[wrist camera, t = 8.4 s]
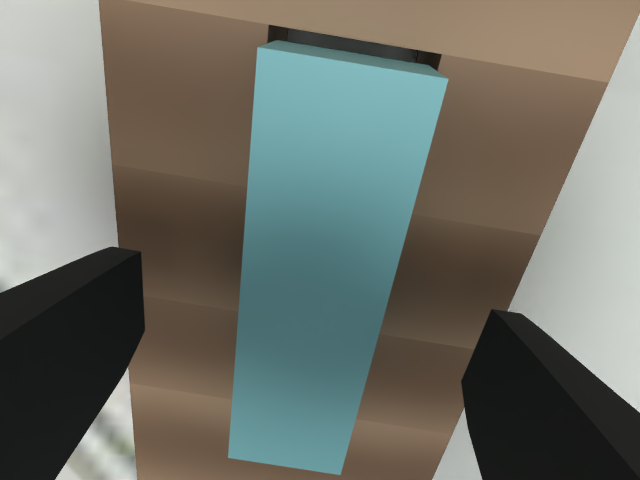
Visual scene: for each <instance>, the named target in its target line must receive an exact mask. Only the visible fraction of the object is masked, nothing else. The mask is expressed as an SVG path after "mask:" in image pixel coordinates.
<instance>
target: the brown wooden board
mask: <svg viewBox="0 0 640 480" xmlns="http://www.w3.org/2000/svg"><path fill="white" fill-rule="evenodd" d="M99 10H100V22H101V34H102V47H103V59H104V71H105V84H106V96H107V109H108V121H109V133H110V146H111V158H112V170H113V183H114V195H115V208H116V220H117V232H118V245H119V248H123V249H129V250H135V251H141V258H142V278H143V298H144V317H145V332H144V334H143V336H142V338H141V340H140V343H139V345H138V347H137V349H136V351H135V353H134V355H133V357H132V359H131V361H130V363H129V365H128V369H129V381H130V393H131V406H132V418H133V430H134V443H135V455H136V468H137V480H432V478H433V476H434V474H435V472H436V469H437V467H438V465H439V463H440V460H441V458H442V456H443V454H444V451H445V449H446V447H447V445H448V442H449V440H450V438H451V436H452V433H453V431H454V429H455V427H456V424H457V422H458V420H459V418H460V415H461V413H462V411H463V409H464V400H463V392H462V385H461V380H462V378H463V375H464V373H465V371H466V368H467V366H468V364H469V361H470V359H471V356H472V354H473V352H474V349H475V347H476V345H477V342H478V340H479V337H480V335H481V333H482V330H483V328H484V325H485V323H486V321H487V318H488V316H489V314H490V311H491V309H496V310H502V311H507V310H508V308H509V305H510V303H511V301H512V299H513V296H514V294H515V292H516V290H517V287H518V285H519V283H520V281H521V278H522V276H523V274H524V272H525V269H526V267H527V265H528V263H529V260H530V258H531V256H532V254H533V251H534V249H535V247H536V245H537V242H538V240H539V238H540V236H541V234H542V231H543V229H544V227H545V225H546V222H547V220H548V218H549V216H550V213H551V211H552V209H553V207H554V204H555V202H556V200H557V198H558V195H559V193H560V191H561V189H562V186H563V184H564V182H565V180H566V177H567V175H568V173H569V171H570V168H571V166H572V164H573V162H574V159H575V157H576V155H577V153H578V150H579V148H580V146H581V144H582V141H583V139H584V137H585V135H586V132H587V130H588V128H589V126H590V123H591V121H592V119H593V117H594V114H595V112H596V110H597V108H598V105H599V103H600V101H601V99H602V96H603V94H604V92H605V90H606V87H607V85H608V83H609V81H610V78H611V76H612V74H613V72H614V70H615V67H616V65H617V63H618V61H619V58H620V56H621V54H622V52H623V49H624V47H625V45H626V43H627V40H628V38H629V36H630V34H631V31H632V29H633V27H634V25H635V22H636V20H637V18H638V16H639V13H640V0H99ZM288 28H292V29H298V30H304V31H310V32H315V33H321V34H327V35H333V36H339V37H345V38H351V39H356V40H362V41H368V42H374V43H380V44H386V45H392V46H397V47H403V48H409V49H415V50H419V52H418V56H417V60H416V63H419V64H425V65H429V66H430V67H432V68H433V69H435V70H436V71H438V72H439V73H441V74H442V75H444V76H445V77H447V78H448V79H449V80H448V83H447V87H446V91H445V94H444V98H443V101H442V105H441V109H440V112H439V116H438V120H437V123H436V127H435V131H434V134H433V138H432V142H431V145H430V149H429V153H428V156H427V160H426V164H425V167H424V171H423V175H422V178H421V182H420V186H419V189H418V193H417V197H416V200H415V204H414V208H413V211H412V215H411V219H410V222H409V226H408V230H407V233H406V237H405V241H404V244H403V248H402V252H401V255H400V259H399V263H398V266H397V270H396V274H395V277H394V281H393V285H392V288H391V292H390V296H389V299H388V303H387V307H386V310H385V314H384V318H383V321H382V325H381V329H380V332H379V336H378V340H377V343H376V347H375V351H374V354H373V358H372V362H371V365H370V369H369V373H368V376H367V380H366V384H365V387H364V391H363V394H362V398H361V402H360V405H359V409H358V413H357V416H356V420H355V424H354V427H353V431H352V435H351V438H350V442H349V446H348V449H347V453H346V457H345V460H344V464H343V468H342V471H341V475H336V474H330V473H324V472H317V471H311V470H304V469H298V468H291V467H285V466H278V465H272V464H265V463H259V462H252V461H246V460H239V459H233V458H228V451H229V437H230V423H231V409H232V396H233V382H234V368H235V354H236V340H237V326H238V312H239V298H240V284H241V270H242V256H243V242H244V228H245V214H246V200H247V187H248V173H249V159H250V145H251V131H252V117H253V103H254V89H255V75H256V61H257V47H259V46H262V45H265V44H268V43H270V42H273V41H276V40H280V41H286V42H287V32H288Z"/></svg>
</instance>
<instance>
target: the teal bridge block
mask: <svg viewBox="0 0 640 480" xmlns="http://www.w3.org/2000/svg"><path fill="white" fill-rule="evenodd" d="M448 80H449V79H448V78H447V77H445V76H444V75H442V74H441V73H439V72H438V71H436V70H435V69H433V68H432V67H430V66H429V65H425V64H419V63H413V62H407V61H401V60H395V59H389V58H383V57H377V56H371V55H365V54H359V53H352V52H346V51H340V50H334V49H328V48H322V47H316V46H310V45H304V44H298V43H292V42H286V41H280V40H276V41H273V42H270V43H268V44H265V45H262V46H259V47H257V61H256V75H255V89H254V103H253V117H252V131H251V145H250V159H249V173H248V187H247V200H246V214H245V228H244V242H243V256H242V270H241V284H240V298H239V312H238V326H237V340H236V354H235V368H234V382H233V396H232V409H231V423H230V437H229V451H228V458H233V459H239V460H246V461H252V462H259V463H265V464H272V465H278V466H285V467H291V468H298V469H304V470H311V471H317V472H324V473H330V474H336V475H341V471H342V468H343V464H344V460H345V457H346V453H347V449H348V446H349V442H350V438H351V435H352V431H353V427H354V424H355V420H356V416H357V413H358V409H359V405H360V402H361V398H362V394H363V391H364V387H365V384H366V380H367V376H368V373H369V369H370V365H371V362H372V358H373V354H374V351H375V347H376V343H377V340H378V336H379V332H380V329H381V325H382V321H383V318H384V314H385V310H386V307H387V303H388V299H389V296H390V292H391V288H392V285H393V281H394V277H395V274H396V270H397V266H398V263H399V259H400V255H401V252H402V248H403V244H404V241H405V237H406V233H407V230H408V226H409V222H410V219H411V215H412V211H413V208H414V204H415V200H416V197H417V193H418V189H419V186H420V182H421V178H422V175H423V171H424V167H425V164H426V160H427V156H428V153H429V149H430V145H431V142H432V138H433V134H434V131H435V127H436V123H437V120H438V116H439V112H440V109H441V105H442V101H443V98H444V94H445V91H446V87H447V83H448Z"/></svg>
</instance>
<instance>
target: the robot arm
mask: <svg viewBox="0 0 640 480" xmlns="http://www.w3.org/2000/svg"><path fill="white" fill-rule="evenodd" d="M144 332H145V317H144V298H143V278H142V258H141V251H135V250H129V249H123V248H117V247H109V248H106V249H103V250H100V251H97V252H95V253H92V254H90V255H87V256H85V257H83V258H80V259H78V260H76V261H73V262H71V263H69V264H66V265H64V266H62V267H60V268H57V269H55V270H53V271H50V272H48V273H46V274H43V275H41V276H39V277H37V278H34V279H32V280H30V281H27V282H25V283H23V284H20V285H18V286H16V287H13V288H11V289H9V290H6V291H4V292H2V293H0V480H55V479H56V477H57V476H58V474H59V473H60V471H61V469H62V468H63V466H64V465H65V463H66V462H67V460H68V459H69V457H70V456H71V454H72V453H73V451H74V450H75V448H76V447H77V445H78V444H79V442H80V441H81V439H82V438H83V436H84V435H85V433H86V432H87V430H88V429H89V427H90V426H91V424H92V423H93V421H94V420H95V418H96V417H97V415H98V414H99V412H100V410H101V409H102V407H103V406H104V404H105V403H106V401H107V400H108V398H109V397H110V395H111V394H112V392H113V390H114V389H115V387H116V386H117V384H118V383H119V381H120V380H121V378H122V376H123V375H124V373H125V371H126V369H127V367H128V365H129V363H130V361H131V359H132V357H133V355H134V353H135V351H136V349H137V347H138V345H139V343H140V340H141V338H142V336H143V334H144ZM461 385H462V392H463V400H464V407H465V413H466V419H467V425H468V430H469V434H470V437H471V441H472V445H473V448H474V452H475V455H476V459H477V462H478V466H479V469H480V473H481V476H482V479H483V480H640V413H639V412H638V411H637V410H636V409H635V408H633V407H632V406H631V405H630V404H628V403H627V402H626V401H625V400H624V399H622V398H621V397H620V396H619V395H618V394H616V393H615V392H614V391H613V390H612V389H610V388H609V387H608V386H607V385H606V384H605V383H603V382H602V381H601V380H600V379H599V378H598V377H596V376H595V375H594V374H593V373H592V372H591V371H589V370H588V369H587V368H586V367H585V366H584V365H582V364H581V363H580V362H579V361H578V360H577V359H576V358H574V357H573V356H572V355H571V354H570V353H569V352H567V351H566V350H565V349H564V348H563V347H562V346H561V345H559V344H558V343H557V342H556V341H555V340H554V339H552V338H551V337H550V336H549V335H548V334H546V333H545V332H544V331H543V330H542V329H540V328H539V327H538V326H537V325H536V324H534V323H533V322H532V321H530V320H529V319H528V318H526V317H525V316H524V315H522V314H520V313H514V312H508V311H502V310H496V309H491V311H490V314H489V316H488V318H487V321H486V323H485V325H484V328H483V330H482V333H481V335H480V337H479V340H478V342H477V345H476V347H475V349H474V352H473V354H472V356H471V359H470V361H469V364H468V366H467V368H466V371H465V373H464V375H463V378H462V380H461Z"/></svg>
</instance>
